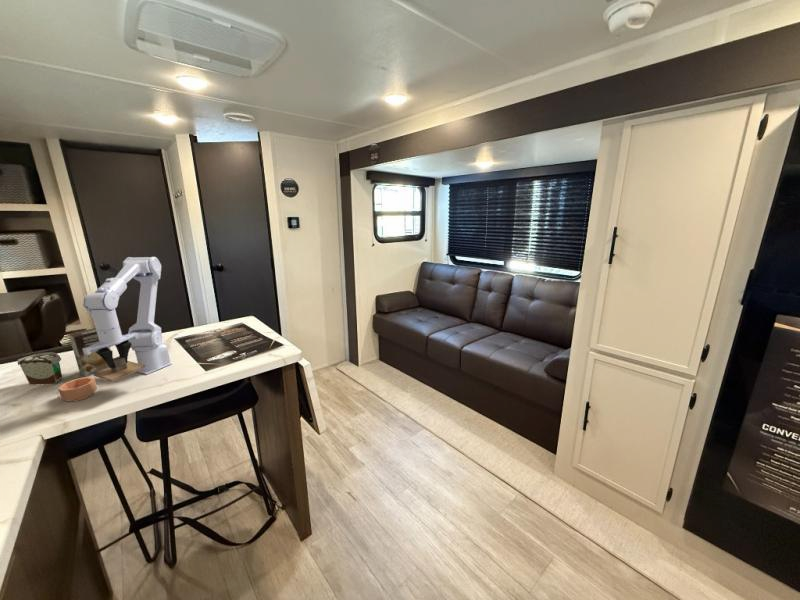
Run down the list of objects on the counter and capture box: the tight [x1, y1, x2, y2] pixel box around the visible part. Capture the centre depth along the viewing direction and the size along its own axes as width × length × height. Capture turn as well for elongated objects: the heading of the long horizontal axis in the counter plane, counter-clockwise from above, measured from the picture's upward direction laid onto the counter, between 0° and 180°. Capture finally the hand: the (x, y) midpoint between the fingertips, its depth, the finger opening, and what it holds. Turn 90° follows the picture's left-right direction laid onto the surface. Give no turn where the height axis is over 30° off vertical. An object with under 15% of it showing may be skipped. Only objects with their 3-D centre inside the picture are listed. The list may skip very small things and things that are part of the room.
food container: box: [16, 352, 63, 386], centre depth 115 cm, size 12×6×10 cm, turn 92°
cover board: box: [92, 355, 146, 382], centre depth 107 cm, size 10×10×5 cm
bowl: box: [57, 376, 98, 402], centre depth 106 cm, size 8×8×4 cm
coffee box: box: [68, 327, 112, 377], centre depth 121 cm, size 9×6×16 cm
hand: (118, 365), depth 107 cm, fingers closed on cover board, 3 cm apart
